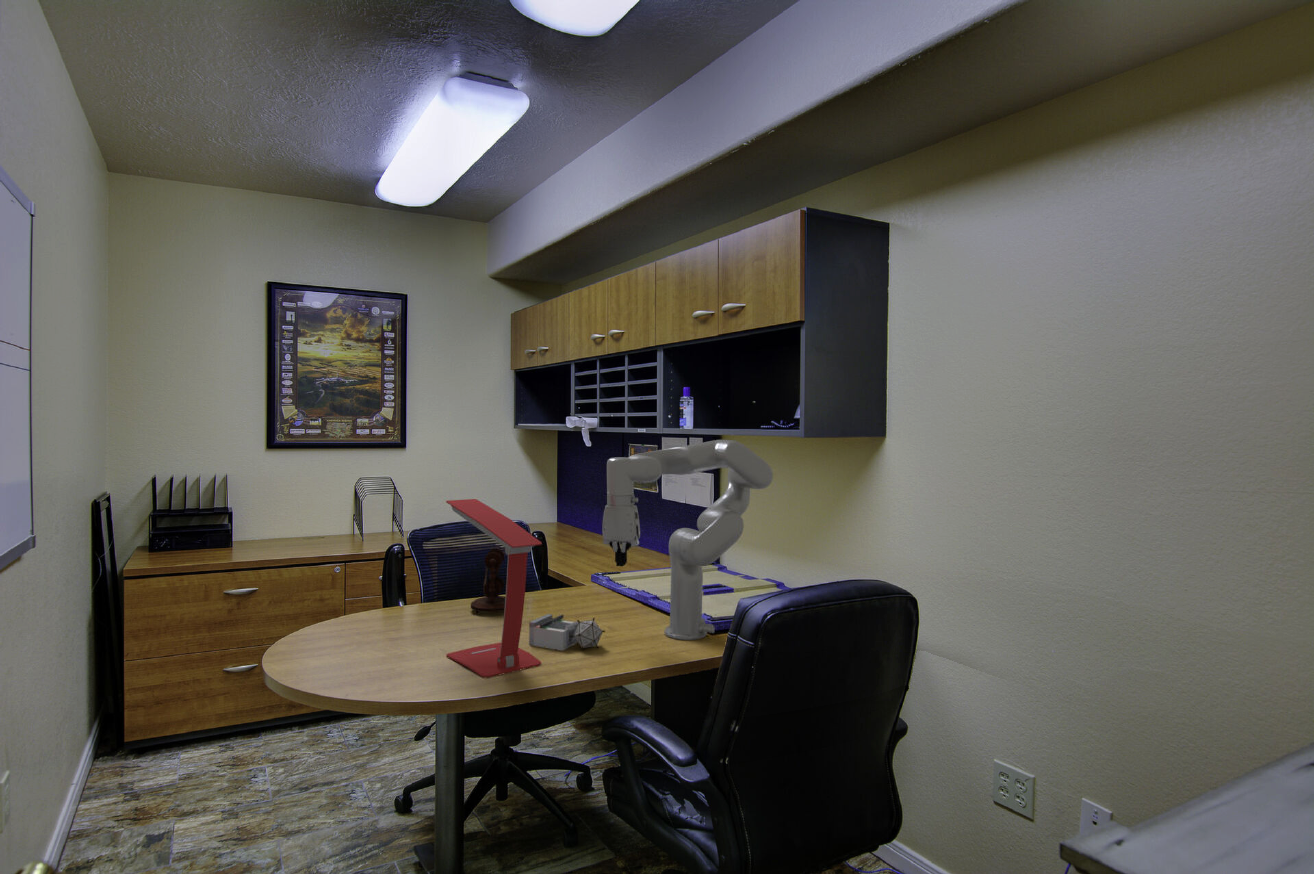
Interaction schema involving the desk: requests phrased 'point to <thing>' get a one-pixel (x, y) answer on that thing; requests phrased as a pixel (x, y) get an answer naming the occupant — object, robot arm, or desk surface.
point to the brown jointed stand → (491, 585)
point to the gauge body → (548, 633)
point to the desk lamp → (516, 547)
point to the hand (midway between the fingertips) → (621, 565)
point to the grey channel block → (569, 629)
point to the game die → (587, 634)
